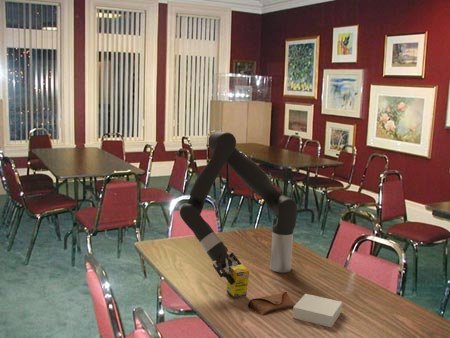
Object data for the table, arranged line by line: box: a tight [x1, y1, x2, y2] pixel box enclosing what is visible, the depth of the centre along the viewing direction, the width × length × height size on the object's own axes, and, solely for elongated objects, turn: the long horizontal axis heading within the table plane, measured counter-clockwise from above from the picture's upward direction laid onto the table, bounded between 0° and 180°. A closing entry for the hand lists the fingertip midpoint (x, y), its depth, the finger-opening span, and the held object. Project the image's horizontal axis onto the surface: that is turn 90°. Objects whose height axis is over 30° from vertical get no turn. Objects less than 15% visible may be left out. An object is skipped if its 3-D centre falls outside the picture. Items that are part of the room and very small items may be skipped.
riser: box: [292, 293, 343, 328], centre depth 184 cm, size 14×14×4 cm
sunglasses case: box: [247, 291, 296, 316], centre depth 189 cm, size 18×7×7 cm, turn 123°
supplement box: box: [226, 264, 250, 299], centre depth 198 cm, size 6×6×11 cm
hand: (238, 280), depth 198 cm, fingers closed on supplement box, 8 cm apart
